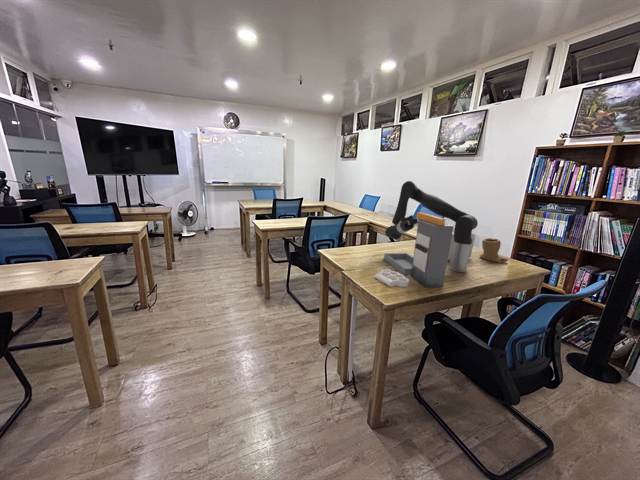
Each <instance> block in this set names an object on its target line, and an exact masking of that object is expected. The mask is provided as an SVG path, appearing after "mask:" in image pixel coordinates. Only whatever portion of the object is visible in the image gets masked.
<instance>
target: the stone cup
mask: <svg viewBox="0 0 640 480" xmlns="http://www.w3.org/2000/svg"><path fill="white" fill-rule="evenodd" d="M481 245H482V250H483V253H482V254H480V255H479V257H480V258H482V259H483V260H488V261H491V262H492V261H493V262H495V263H499V264H504V263H507V262H508V261H509V259H508V258H506V257H502V256H499V252H500V249H501V245H502V243H501V240H500V239H499V238H490V237H489V238H483V240H482V242H481Z"/></svg>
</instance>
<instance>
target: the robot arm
mask: <svg viewBox="0 0 640 480" xmlns="http://www.w3.org/2000/svg"><path fill="white" fill-rule="evenodd" d="M409 199H412V200H413V201H416V202H418V203H419V204H421V205H422V206H423V207H424V208H426V209H427V210H429V211H430V212H432V213H433V214H434V215H437V216H439V217H442V218H445V219H449V220H451V221H453V222H455V225H454V228H453V232H454V244H453V249H452V255H451V260H449V261H450V262H449V266H448V268H449V270H451V271H452V272H453V271H454V272H456V273H457V272H458V273H465V272H467V267H468V264H469V263H468V262H469V260H470V258H469V254H470V249H471V244H472V238H471V233H472V234H473V230H474V229H476V228H477V227H478V222H479V221H478V220H477V218H476V217H475V216H473V215H472V214H469V213H466V212H465V211H462V210H460V209H458V208H456V207H455V206H453V205H452V204H450V203H449V202H447V201H445V200H444V199H442V198H440V197H438V196H436V195H433V194H430V193H427V192H425V191H423V190H422V189H420V188H419V187H418V186H417V185H416V183H414V182H413V181H412V180H407V181H405V182H404V183H403V184H402V185H401V189H400V195H399V199H398V202H397V207H396V208H395V209H396V210H395V212H394V215H393V219H392V221H391V223H392V225H389V226H388V227H386V229H385V233H384V234H385V236H387V237H388V238H391V239H394V240H399V239H401V237H402V235H403V234H405V233H407V232H409V231H411V230H412V229H413V228H414V227H415V226H416V225H418V221H419V220H422V219H419V218H416V217H414V216H413V214H411V215H409V216H407V217H406V214H407V208H408V203H409Z"/></svg>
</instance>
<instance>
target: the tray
mask: <svg viewBox="0 0 640 480" xmlns="http://www.w3.org/2000/svg"><path fill="white" fill-rule="evenodd" d="M413 257H414V256H412V255H411V254H409V253H407V252H397V253H396V252H393V253H384V255H383V260H384V261H385V262H387V264H389V265H390V266H391V267H392V268H394V269H395V270H397V272H398V273H400V274H402V275H404V276H405V277H406V276H411V272H412V264H413Z"/></svg>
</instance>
